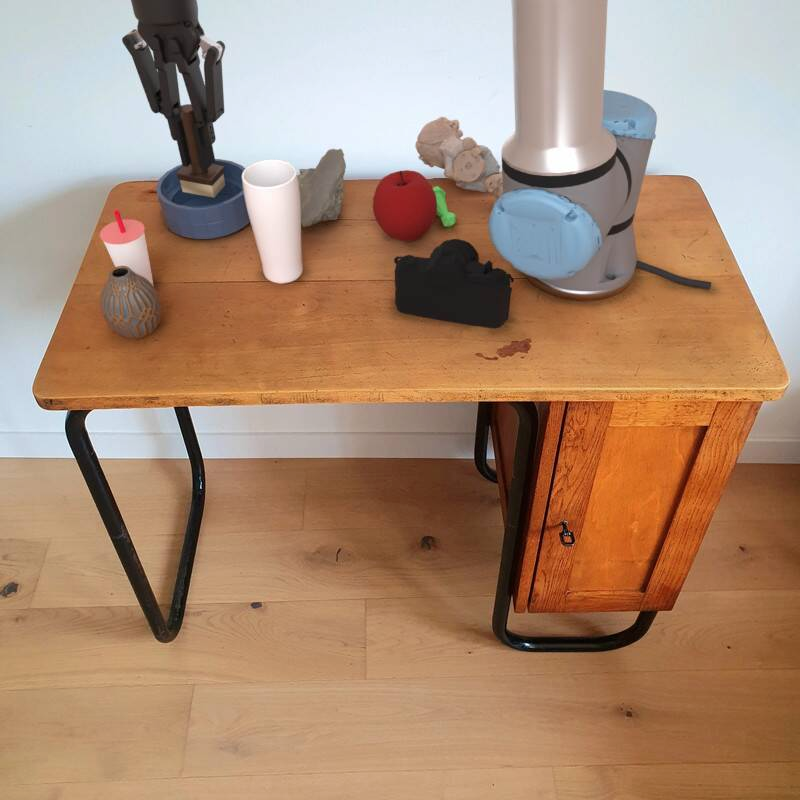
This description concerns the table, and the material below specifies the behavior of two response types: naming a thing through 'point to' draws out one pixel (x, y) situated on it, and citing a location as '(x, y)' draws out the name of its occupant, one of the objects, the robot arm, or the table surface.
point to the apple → (405, 205)
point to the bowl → (204, 205)
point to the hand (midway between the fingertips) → (198, 163)
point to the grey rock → (322, 189)
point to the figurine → (459, 157)
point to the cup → (127, 245)
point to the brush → (197, 163)
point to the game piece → (443, 208)
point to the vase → (130, 303)
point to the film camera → (453, 286)
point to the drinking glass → (275, 217)
